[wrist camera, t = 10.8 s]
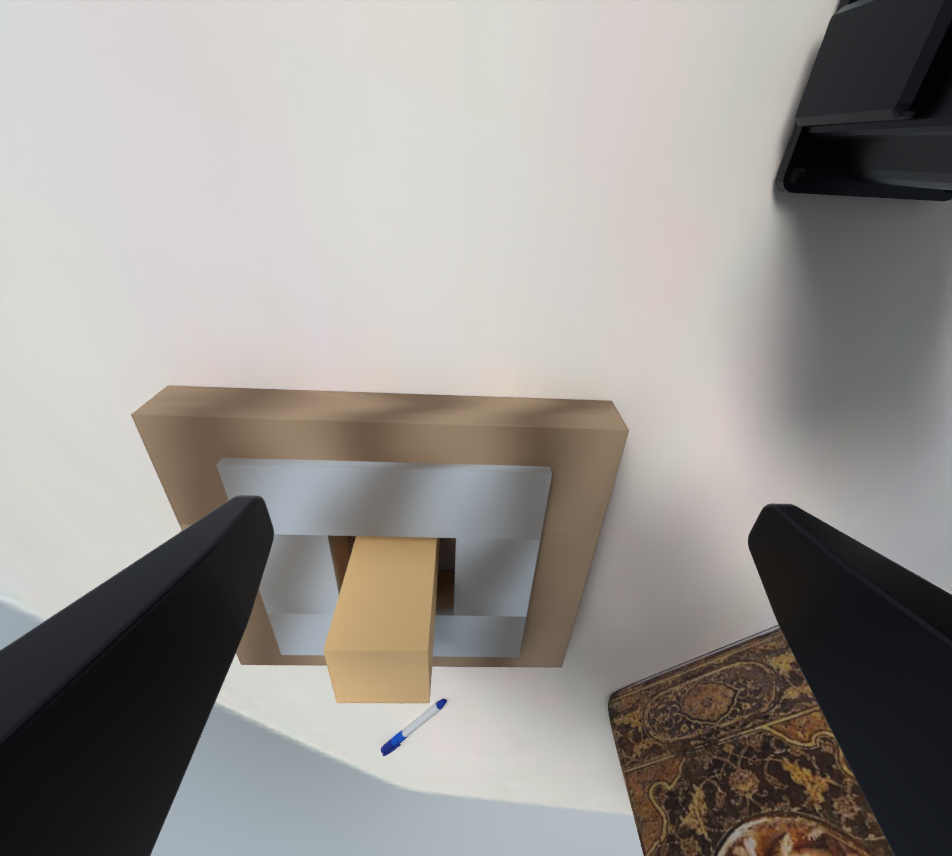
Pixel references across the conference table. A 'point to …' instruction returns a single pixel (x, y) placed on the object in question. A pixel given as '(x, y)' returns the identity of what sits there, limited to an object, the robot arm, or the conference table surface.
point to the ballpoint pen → (412, 727)
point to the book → (738, 760)
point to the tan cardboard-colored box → (385, 622)
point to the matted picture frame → (401, 504)
